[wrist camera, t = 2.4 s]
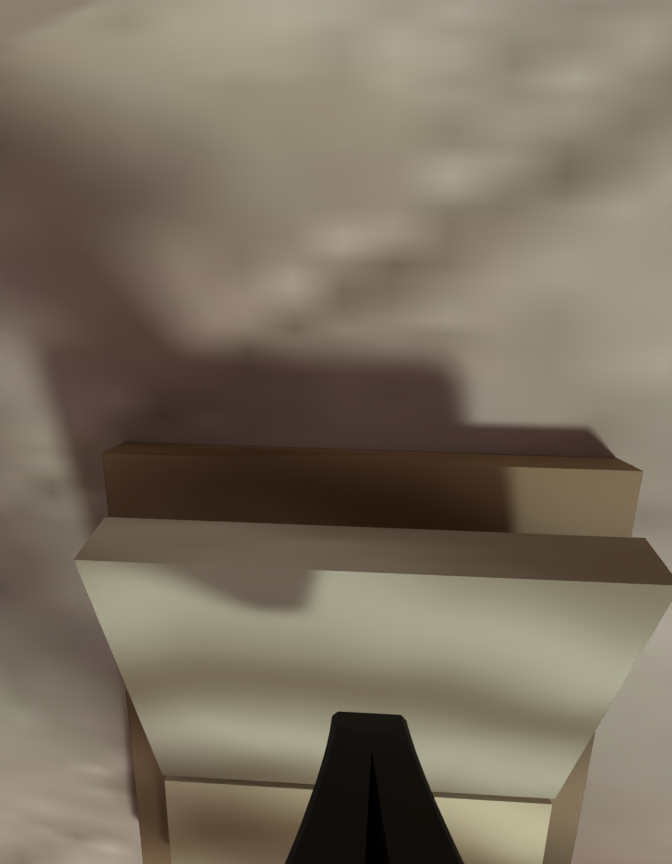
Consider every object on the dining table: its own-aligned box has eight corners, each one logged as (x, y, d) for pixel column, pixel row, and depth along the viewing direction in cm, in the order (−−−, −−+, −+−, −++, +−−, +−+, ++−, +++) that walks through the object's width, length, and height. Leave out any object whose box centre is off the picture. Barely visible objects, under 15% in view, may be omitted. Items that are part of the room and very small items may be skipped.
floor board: (549, 860, 20) (580, 949, 18) (158, 834, 21) (127, 916, 18) (617, 458, 16) (674, 487, 13) (124, 442, 17) (75, 466, 14)
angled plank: (540, 751, 17) (555, 799, 16) (177, 730, 18) (162, 775, 16) (644, 538, 11) (681, 586, 10) (104, 517, 12) (73, 559, 11)
